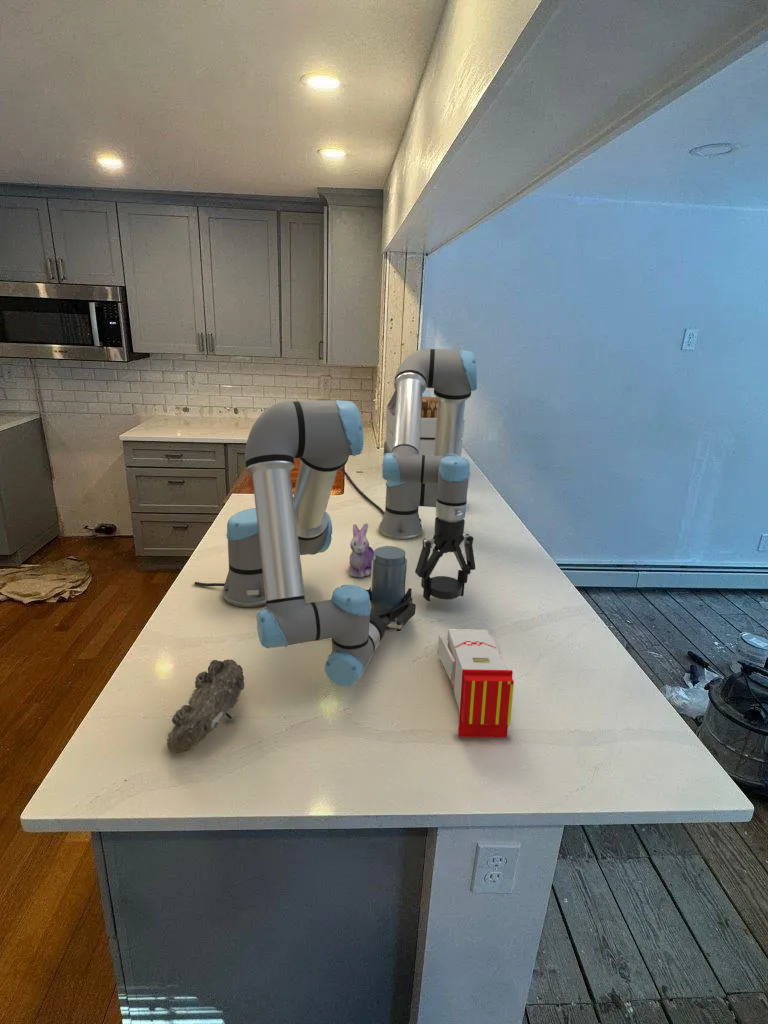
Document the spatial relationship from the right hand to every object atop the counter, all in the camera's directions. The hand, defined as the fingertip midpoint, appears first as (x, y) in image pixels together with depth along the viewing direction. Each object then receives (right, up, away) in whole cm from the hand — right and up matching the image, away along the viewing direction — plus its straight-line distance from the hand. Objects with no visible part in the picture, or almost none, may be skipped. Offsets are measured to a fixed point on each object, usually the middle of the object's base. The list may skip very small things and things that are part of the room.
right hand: (443, 596), depth 152 cm
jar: (-15, -5, -8) cm, 18 cm away
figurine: (-23, +5, +18) cm, 29 cm away
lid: (0, +3, -1) cm, 3 cm away
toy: (+2, -15, -33) cm, 37 cm away
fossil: (-49, -17, -44) cm, 68 cm away
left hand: (-14, +2, -6) cm, 15 cm away
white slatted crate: (+1, +41, +123) cm, 130 cm away
